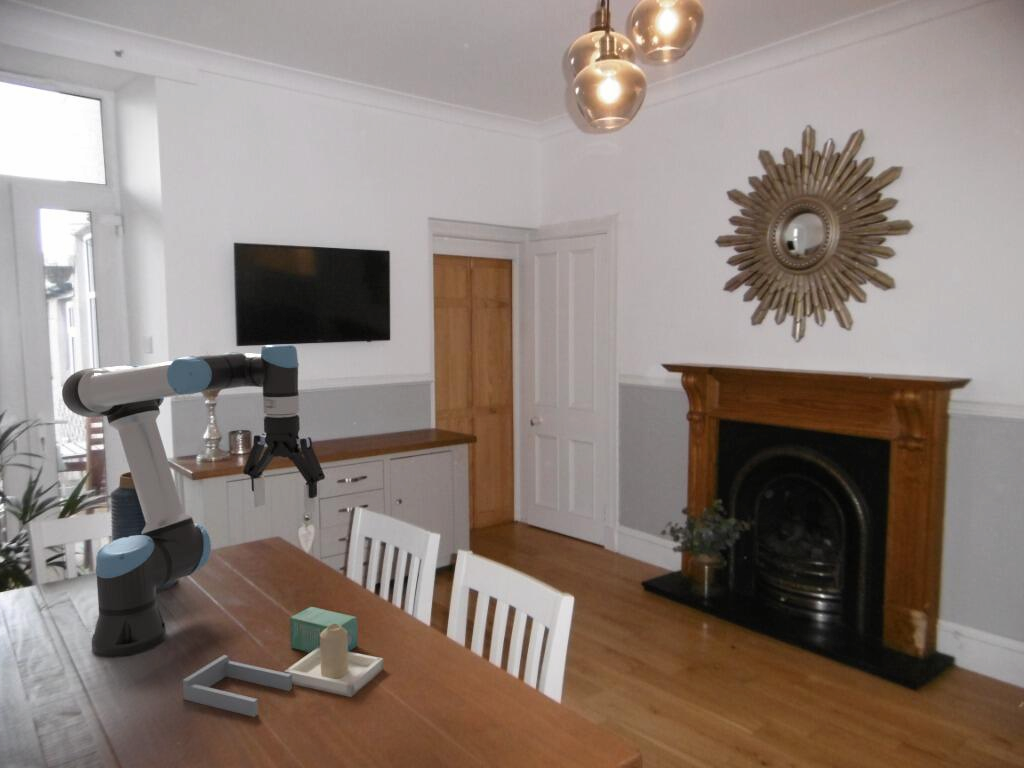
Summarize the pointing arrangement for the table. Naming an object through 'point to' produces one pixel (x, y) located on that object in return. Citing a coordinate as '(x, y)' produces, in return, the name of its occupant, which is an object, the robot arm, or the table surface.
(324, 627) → the box
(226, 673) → the bracket
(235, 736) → the table surface
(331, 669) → the candle
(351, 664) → the tray
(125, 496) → the vase
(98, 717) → the table surface
